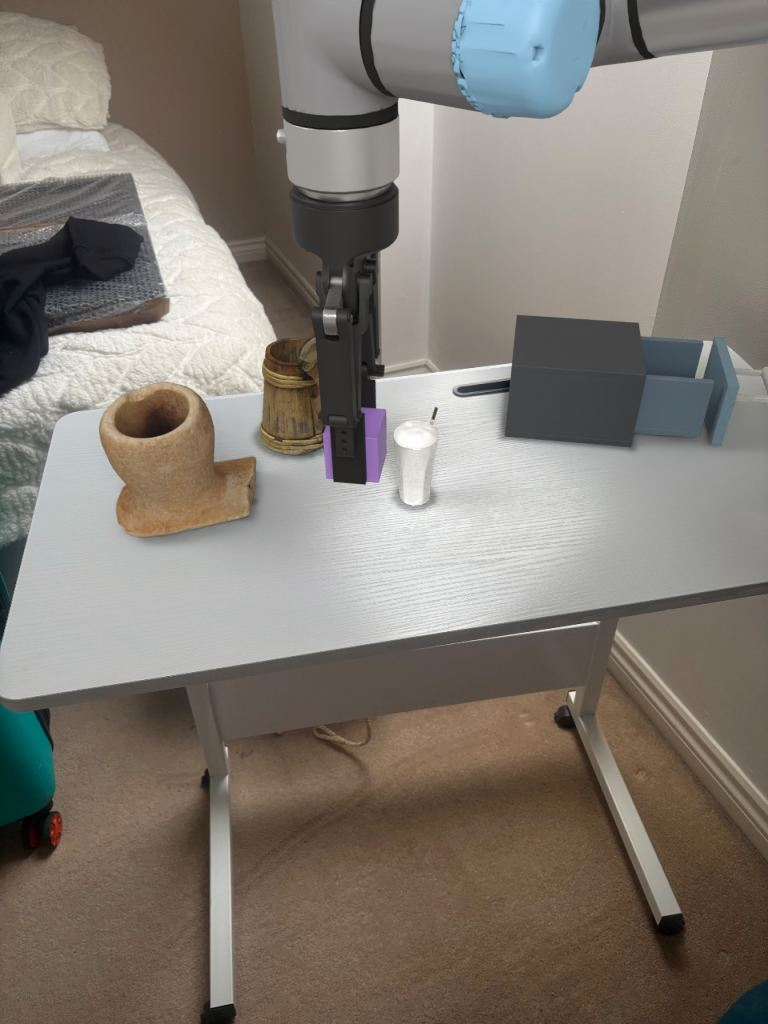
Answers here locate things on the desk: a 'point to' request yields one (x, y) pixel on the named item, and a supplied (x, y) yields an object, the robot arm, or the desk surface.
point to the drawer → (690, 388)
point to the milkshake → (415, 459)
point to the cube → (374, 444)
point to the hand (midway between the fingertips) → (355, 462)
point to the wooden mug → (291, 397)
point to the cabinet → (575, 380)
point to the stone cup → (171, 463)
